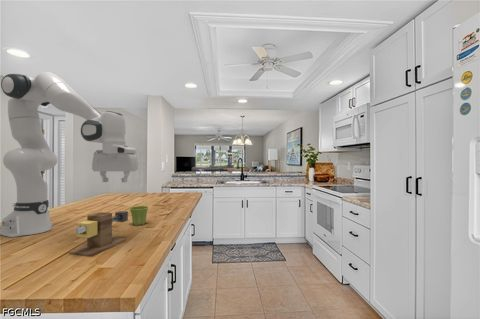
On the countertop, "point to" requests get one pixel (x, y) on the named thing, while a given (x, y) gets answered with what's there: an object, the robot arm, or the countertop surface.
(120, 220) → the shaft
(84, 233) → the block
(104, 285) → the countertop surface
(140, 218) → the plant pot
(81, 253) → the stand
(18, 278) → the countertop surface
